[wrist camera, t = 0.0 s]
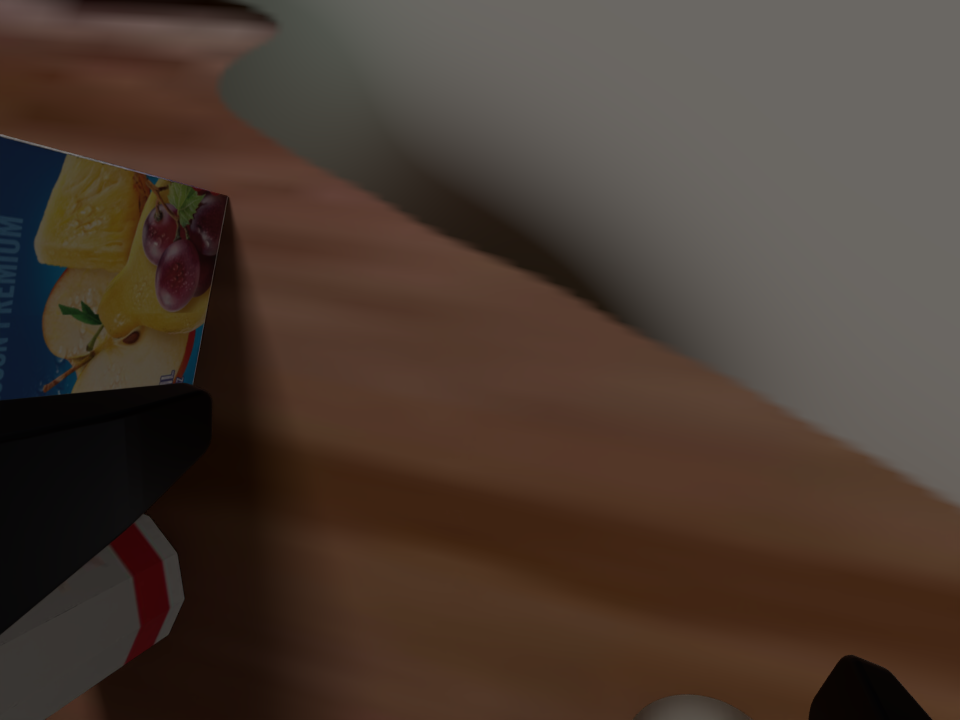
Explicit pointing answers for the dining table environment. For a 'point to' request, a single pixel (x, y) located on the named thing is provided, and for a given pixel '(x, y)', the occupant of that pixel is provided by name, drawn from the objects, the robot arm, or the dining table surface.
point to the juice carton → (99, 273)
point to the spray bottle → (91, 624)
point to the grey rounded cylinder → (690, 709)
